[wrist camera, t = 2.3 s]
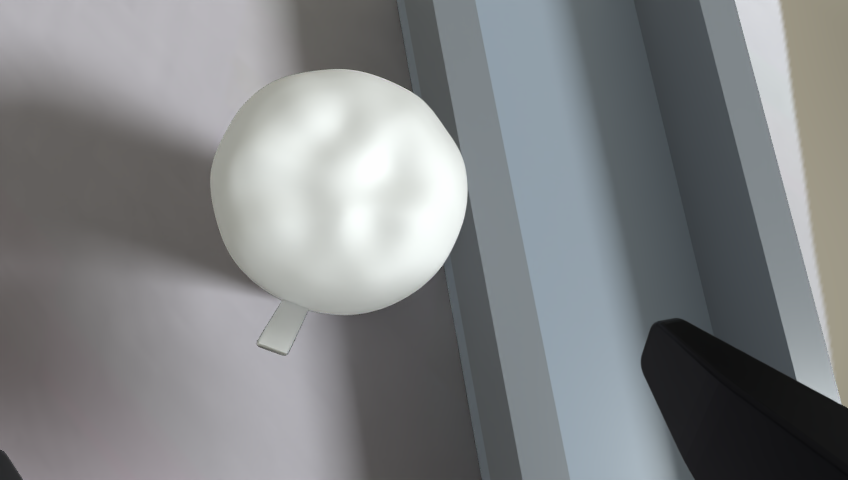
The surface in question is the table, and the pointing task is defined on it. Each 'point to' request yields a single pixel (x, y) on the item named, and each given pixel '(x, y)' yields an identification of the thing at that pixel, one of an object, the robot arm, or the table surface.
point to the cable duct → (605, 220)
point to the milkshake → (336, 195)
